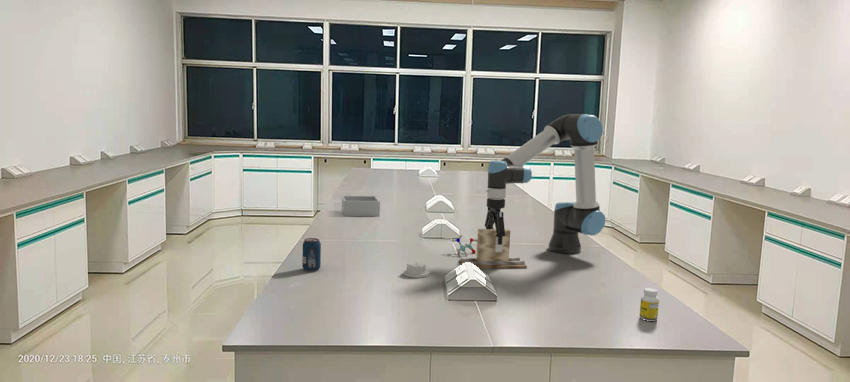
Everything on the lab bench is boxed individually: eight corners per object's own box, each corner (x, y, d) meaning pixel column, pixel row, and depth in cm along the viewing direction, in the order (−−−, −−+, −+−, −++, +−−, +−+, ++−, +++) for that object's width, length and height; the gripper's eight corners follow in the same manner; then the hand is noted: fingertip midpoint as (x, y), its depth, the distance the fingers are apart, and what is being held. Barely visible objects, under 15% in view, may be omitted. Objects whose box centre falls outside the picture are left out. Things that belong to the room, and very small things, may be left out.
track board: (516, 261, 267) (517, 256, 267) (526, 268, 255) (527, 263, 255) (458, 261, 262) (459, 256, 261) (466, 269, 250) (466, 263, 250)
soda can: (313, 266, 245) (314, 237, 243) (323, 270, 240) (324, 240, 238) (298, 269, 240) (299, 239, 238) (308, 273, 235) (309, 242, 233)
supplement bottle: (636, 316, 199) (639, 287, 198) (652, 316, 199) (655, 287, 198) (643, 322, 193) (646, 292, 192) (660, 322, 194) (663, 292, 193)
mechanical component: (423, 279, 233) (432, 273, 242) (424, 268, 232) (432, 262, 241) (399, 276, 236) (409, 270, 245) (399, 265, 235) (409, 259, 245)
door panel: (505, 261, 261) (507, 229, 259) (508, 263, 258) (510, 230, 256) (476, 261, 259) (478, 229, 257) (478, 263, 255) (480, 230, 253)
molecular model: (476, 250, 269) (467, 229, 272) (456, 259, 271) (448, 238, 274) (483, 252, 280) (474, 232, 283) (464, 261, 282) (455, 240, 285)
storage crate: (375, 210, 384) (375, 196, 383) (379, 216, 364) (379, 201, 363) (341, 210, 380) (341, 195, 379) (343, 216, 360) (344, 201, 359)
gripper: (478, 193, 266) (476, 241, 269) (496, 202, 242) (494, 255, 245) (495, 193, 268) (493, 241, 270) (514, 202, 243) (512, 255, 246)
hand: (493, 248), depth 258 cm, fingers open, 13 cm apart
